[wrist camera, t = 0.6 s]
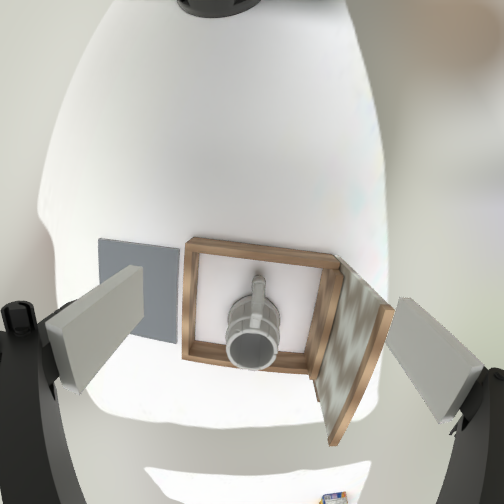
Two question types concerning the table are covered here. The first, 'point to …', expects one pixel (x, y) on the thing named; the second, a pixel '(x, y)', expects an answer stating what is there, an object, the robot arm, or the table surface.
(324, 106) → the table surface
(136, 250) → the slate mat
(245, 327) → the mug
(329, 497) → the beverage box
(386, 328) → the box
